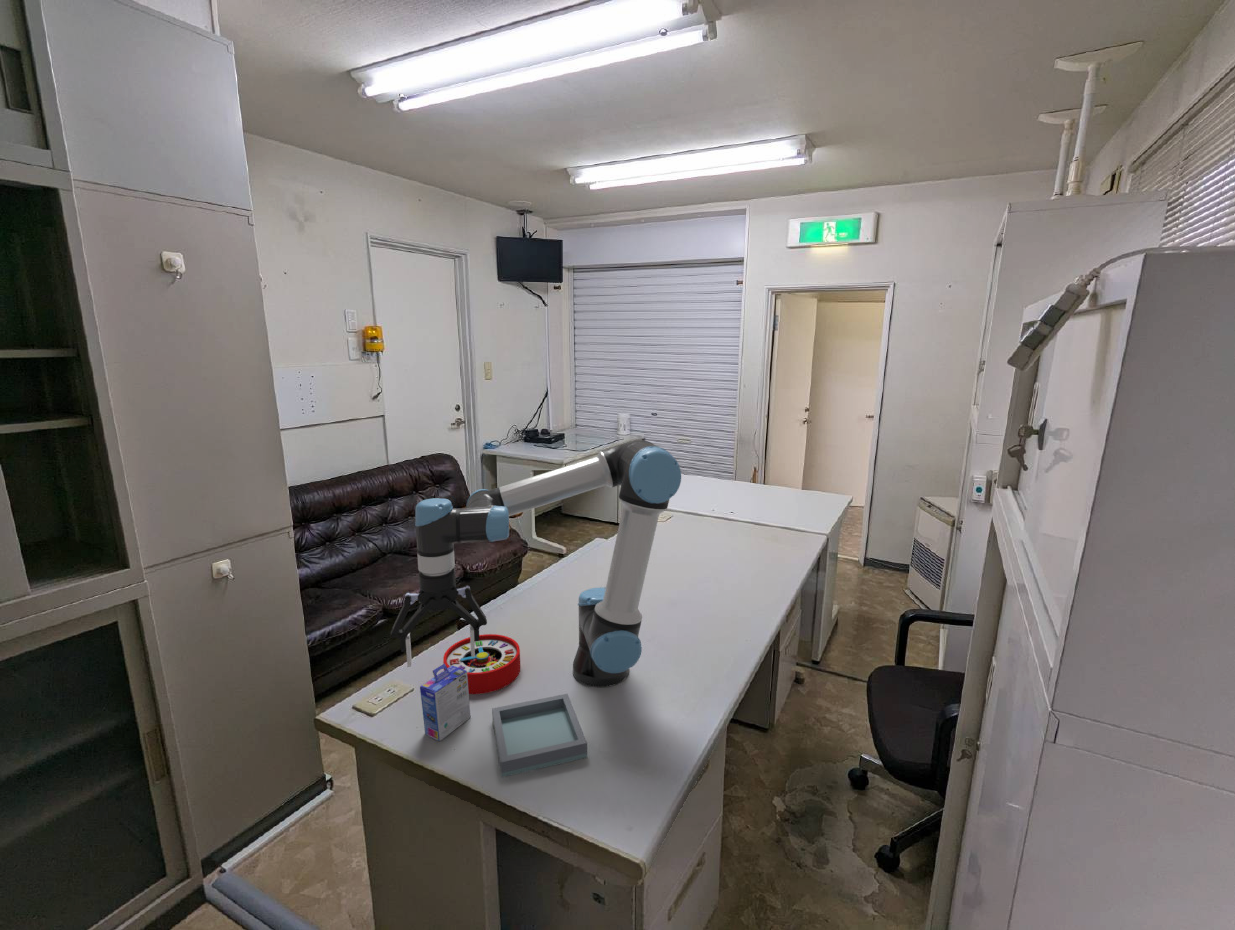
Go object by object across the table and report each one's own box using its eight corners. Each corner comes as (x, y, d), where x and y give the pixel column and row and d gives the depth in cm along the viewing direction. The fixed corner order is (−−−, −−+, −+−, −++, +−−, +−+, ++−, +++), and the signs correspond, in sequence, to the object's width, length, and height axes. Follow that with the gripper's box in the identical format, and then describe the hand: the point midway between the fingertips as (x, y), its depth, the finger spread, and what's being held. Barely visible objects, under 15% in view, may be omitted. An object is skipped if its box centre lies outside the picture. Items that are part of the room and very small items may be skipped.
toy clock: (526, 665, 141) (445, 681, 134) (527, 685, 142) (447, 702, 135) (512, 629, 159) (441, 641, 152) (513, 647, 160) (442, 660, 153)
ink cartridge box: (455, 709, 132) (451, 655, 129) (472, 717, 129) (468, 661, 126) (422, 734, 123) (417, 676, 121) (439, 742, 121) (435, 683, 118)
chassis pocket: (567, 706, 133) (567, 693, 132) (587, 757, 116) (587, 742, 116) (492, 721, 127) (491, 708, 127) (501, 777, 111) (501, 762, 110)
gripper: (493, 557, 126) (496, 641, 130) (376, 569, 118) (383, 658, 122) (497, 569, 119) (499, 658, 123) (372, 583, 111) (380, 677, 115)
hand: (441, 658), depth 123 cm, fingers open, 13 cm apart
